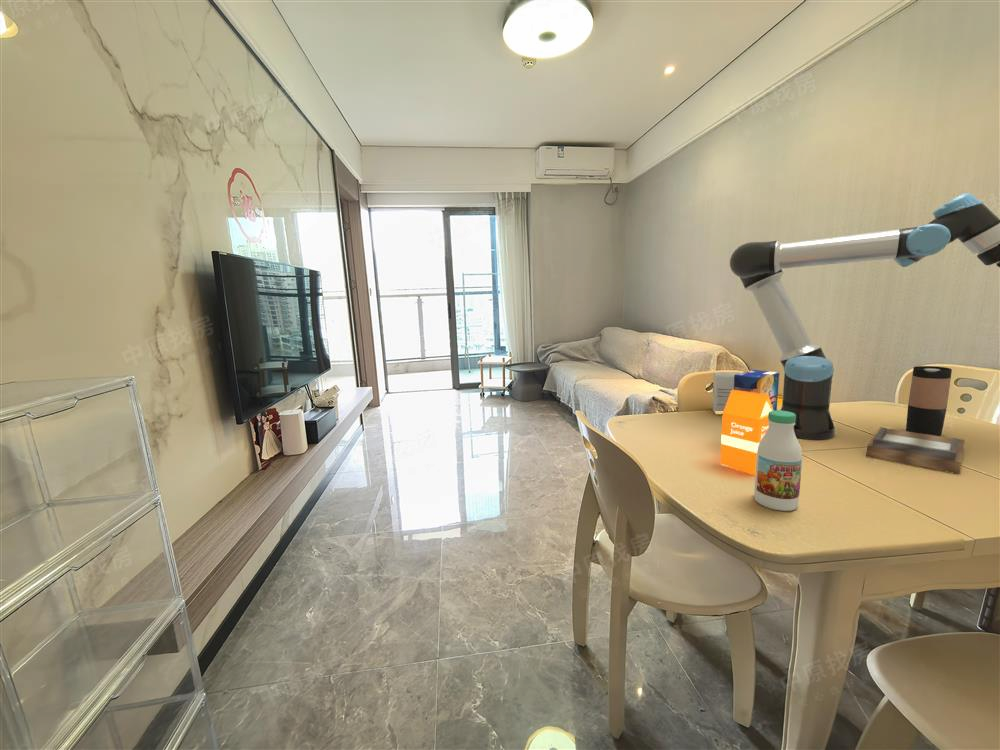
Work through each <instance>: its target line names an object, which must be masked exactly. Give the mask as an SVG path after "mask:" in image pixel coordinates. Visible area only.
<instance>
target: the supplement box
mask: <svg viewBox="0 0 1000 750" xmlns="http://www.w3.org/2000/svg"><path fill="white" fill-rule="evenodd" d="M740 373H741V372H738V371H737V372H727V371H726V372H725V371H724V372H723V371H722V372H721V371H714V372H713V384H712V385H713V388H712V410H713V412H714V411H723V412H724V409H725V406H726V404H727V401H728V399H729V396H730V393H731V391H732V390H734V375H736V374H740Z"/></svg>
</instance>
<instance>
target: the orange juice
mask: <svg viewBox="0 0 1000 750" xmlns="http://www.w3.org/2000/svg"><path fill="white" fill-rule="evenodd" d="M770 411H773V408H772V405H771V402H770V399H769V396H768V395H767V394H760V393H753V392H746V391H739V390H732V391H731V393H730V396H729V399H728V401H727V404H726V406H725V409H724V412H723V415H722V419H721V422H722V423H721V436H720V437H721V438H720V439H721V440H720V463H722V464H725V465H728V466H730V467H733V468H735V469H738V470H741V471H743V472H742V473H744V472H746V473H745V474H747V473H749V474H748V475H751V476H754V475H755V474H756V460H757V450H758V446H759V443H760V441H761V439H762V438H763V436H764V435H765V433H766V431H767V429H768V427H769V422H768V413H769V412H770ZM720 463H719V464H720ZM738 470H737V471H738ZM741 471H740V472H741Z"/></svg>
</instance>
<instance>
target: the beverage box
mask: <svg viewBox="0 0 1000 750" xmlns="http://www.w3.org/2000/svg"><path fill="white" fill-rule="evenodd" d="M739 373H740V374H736V375H734V390H739V391H746V392H753V393H760V394H767V395H768V396H769V399H770V402H771V405H772V408H773V411H775V410H778V399H779V397H778V396H779V383H780V371H779V372H778V371H772V370H759V369H751V370H748V371H744V372H739Z"/></svg>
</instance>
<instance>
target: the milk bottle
mask: <svg viewBox="0 0 1000 750" xmlns="http://www.w3.org/2000/svg"><path fill="white" fill-rule="evenodd" d="M795 421H796V415H795V414H794V413H792V412H788V411H780V410H778V409H777V410H775V411H770V412H769V413H768V422H769V427H768V429H767V431H766V433H765V435H764V436H763V438H762V439H761V441H760V443H759V446H758V450H757V460H756V474H755V476H754V490H753V491H754V492H753V494H754V495H753V497H754V499H755V501H756V503H758V504H760V505H762V506H763V507H765V508H768V509H771V510H775V511H781V512H791V511H794V510H796V509H797V508H798V507H799V502H800V491H801V489H800V488H801V481H802V480H801V477H802V465H803V464H802V463H803V459H802V458H803V453H802V448H801V445H800V442H799V441H798V437H796V436H795V433H794V425H795Z"/></svg>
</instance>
